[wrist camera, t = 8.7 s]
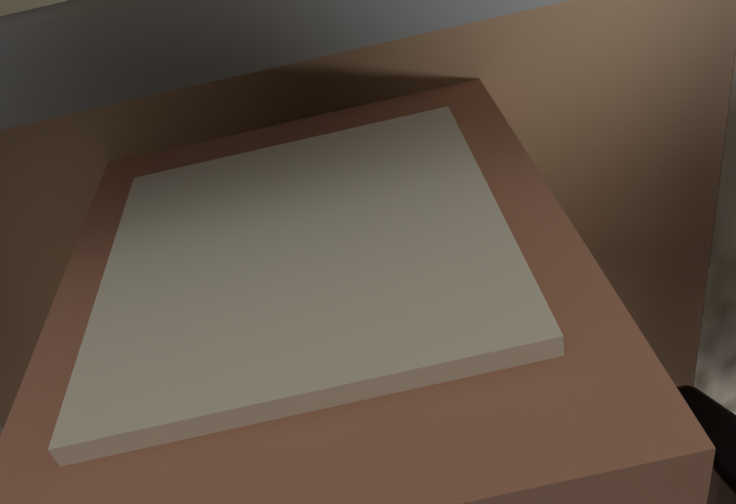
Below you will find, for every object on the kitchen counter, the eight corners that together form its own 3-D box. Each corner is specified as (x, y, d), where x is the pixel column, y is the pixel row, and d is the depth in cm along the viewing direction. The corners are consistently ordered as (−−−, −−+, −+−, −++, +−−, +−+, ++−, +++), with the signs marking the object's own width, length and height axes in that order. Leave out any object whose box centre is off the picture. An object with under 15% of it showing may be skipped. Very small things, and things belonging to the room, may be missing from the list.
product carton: (514, 424, 13) (656, 812, 8) (256, 481, 13) (249, 896, 9) (477, 63, 9) (720, 426, 4) (100, 150, 9) (-90, 602, 4)
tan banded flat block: (701, -229, 9) (955, -216, 6) (647, 467, 17) (736, 634, 14) (-226, -12, 9) (-506, 121, 6) (166, 570, 17) (143, 758, 14)
